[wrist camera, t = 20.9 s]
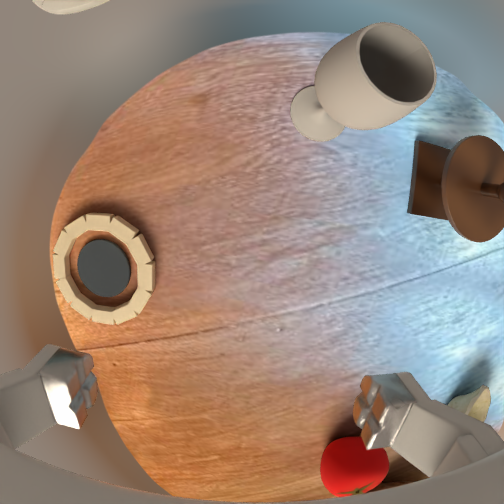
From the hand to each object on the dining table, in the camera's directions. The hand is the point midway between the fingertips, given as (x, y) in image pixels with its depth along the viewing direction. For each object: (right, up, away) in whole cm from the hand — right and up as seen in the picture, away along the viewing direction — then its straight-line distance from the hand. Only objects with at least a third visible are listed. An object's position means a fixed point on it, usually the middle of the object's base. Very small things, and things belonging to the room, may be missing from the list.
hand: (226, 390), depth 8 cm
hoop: (-19, +2, +31) cm, 36 cm away
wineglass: (+9, +21, +27) cm, 35 cm away
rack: (+27, +14, +30) cm, 42 cm away
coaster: (-19, +2, +31) cm, 36 cm away
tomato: (+19, -33, +42) cm, 56 cm away
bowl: (+43, -27, +41) cm, 66 cm away
